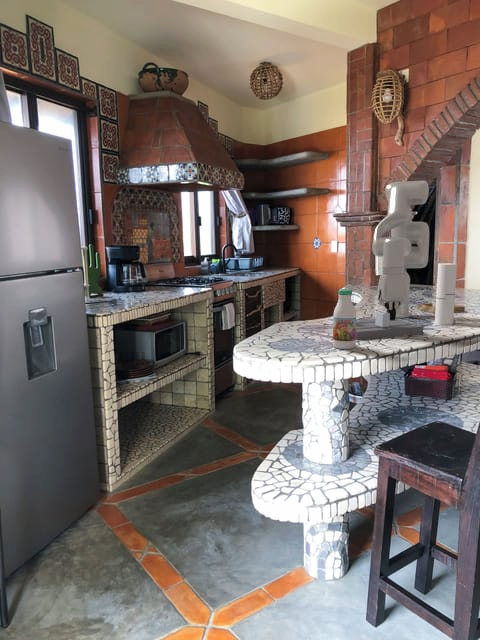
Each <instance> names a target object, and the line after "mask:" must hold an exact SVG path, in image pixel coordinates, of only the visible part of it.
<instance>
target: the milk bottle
mask: <svg viewBox="0 0 480 640" xmlns="http://www.w3.org/2000/svg"><path fill="white" fill-rule="evenodd" d="M352 297H353V290H352V289H350V288H341V289H338V300H337V303H336V306H335V308H334V311H333V316H332V317H333V319H332V320H333V321H332V346H333V348H335V349H340V350H351V349H354V348H355V347H356V346H357V345H356V343H357V340H356V321H357V312H356V308H355V306H354V304H353V300H352Z"/></svg>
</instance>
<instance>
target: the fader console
mask: <svg viewBox="0 0 480 640" xmlns="http://www.w3.org/2000/svg"><path fill="white" fill-rule="evenodd" d="M418 334H419V335H423V334H424V326H422V325H419V324H417V323H414V322H410V321H406V320H404V319H401V318H395V320H390V323H389V327H380V326H377V325H375V319H362V320H361V319H360V320H356V341H358V339H361V340H371V338H372V339H380V338H381V339H382V337H384V338H394V337H404V335H407V336H416V335H418ZM419 335H418V336H419Z"/></svg>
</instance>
